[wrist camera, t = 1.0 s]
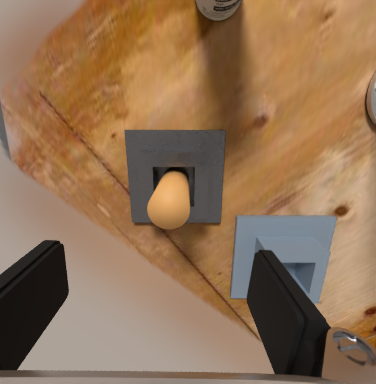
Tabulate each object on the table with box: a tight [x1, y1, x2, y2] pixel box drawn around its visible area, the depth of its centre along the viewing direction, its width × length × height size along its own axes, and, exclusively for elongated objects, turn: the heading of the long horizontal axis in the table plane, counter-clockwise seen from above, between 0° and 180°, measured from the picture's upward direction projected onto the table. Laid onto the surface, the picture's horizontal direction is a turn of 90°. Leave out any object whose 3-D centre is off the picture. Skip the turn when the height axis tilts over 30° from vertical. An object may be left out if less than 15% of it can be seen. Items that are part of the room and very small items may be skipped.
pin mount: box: [125, 130, 226, 223], centre depth 32 cm, size 16×16×6 cm
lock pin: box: [147, 167, 190, 229], centre depth 28 cm, size 4×4×14 cm
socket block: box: [230, 215, 337, 303], centre depth 37 cm, size 18×18×6 cm
